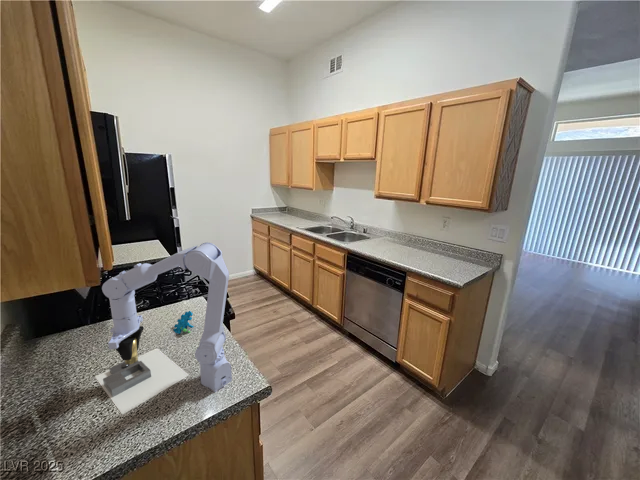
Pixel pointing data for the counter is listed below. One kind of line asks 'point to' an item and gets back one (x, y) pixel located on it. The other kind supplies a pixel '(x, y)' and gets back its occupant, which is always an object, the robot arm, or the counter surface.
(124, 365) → the plate
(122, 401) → the mat
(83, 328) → the counter surface
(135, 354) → the pin
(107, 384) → the plate
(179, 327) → the gear
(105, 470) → the counter surface
